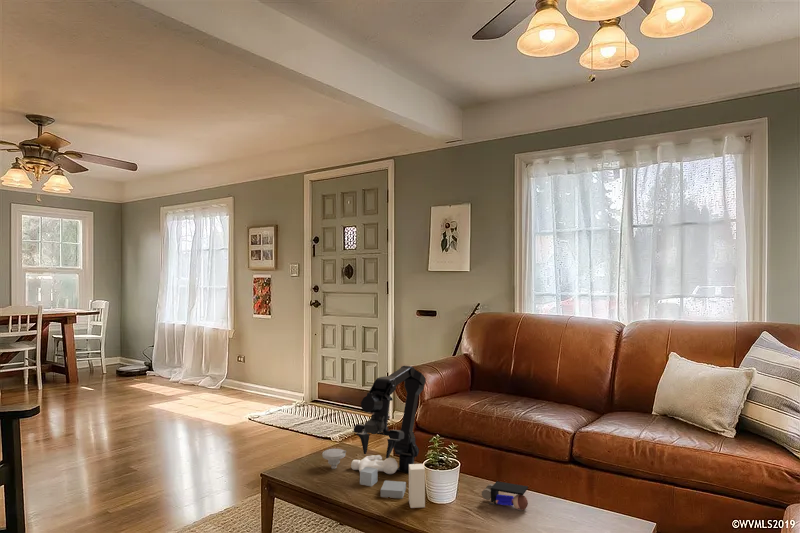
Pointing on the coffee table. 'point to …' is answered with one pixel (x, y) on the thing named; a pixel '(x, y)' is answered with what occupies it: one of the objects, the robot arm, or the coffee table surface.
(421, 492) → the pillar
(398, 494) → the plinth
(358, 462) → the figure
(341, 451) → the showerhead
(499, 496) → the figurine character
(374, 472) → the cube
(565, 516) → the coffee table surface
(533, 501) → the coffee table surface
